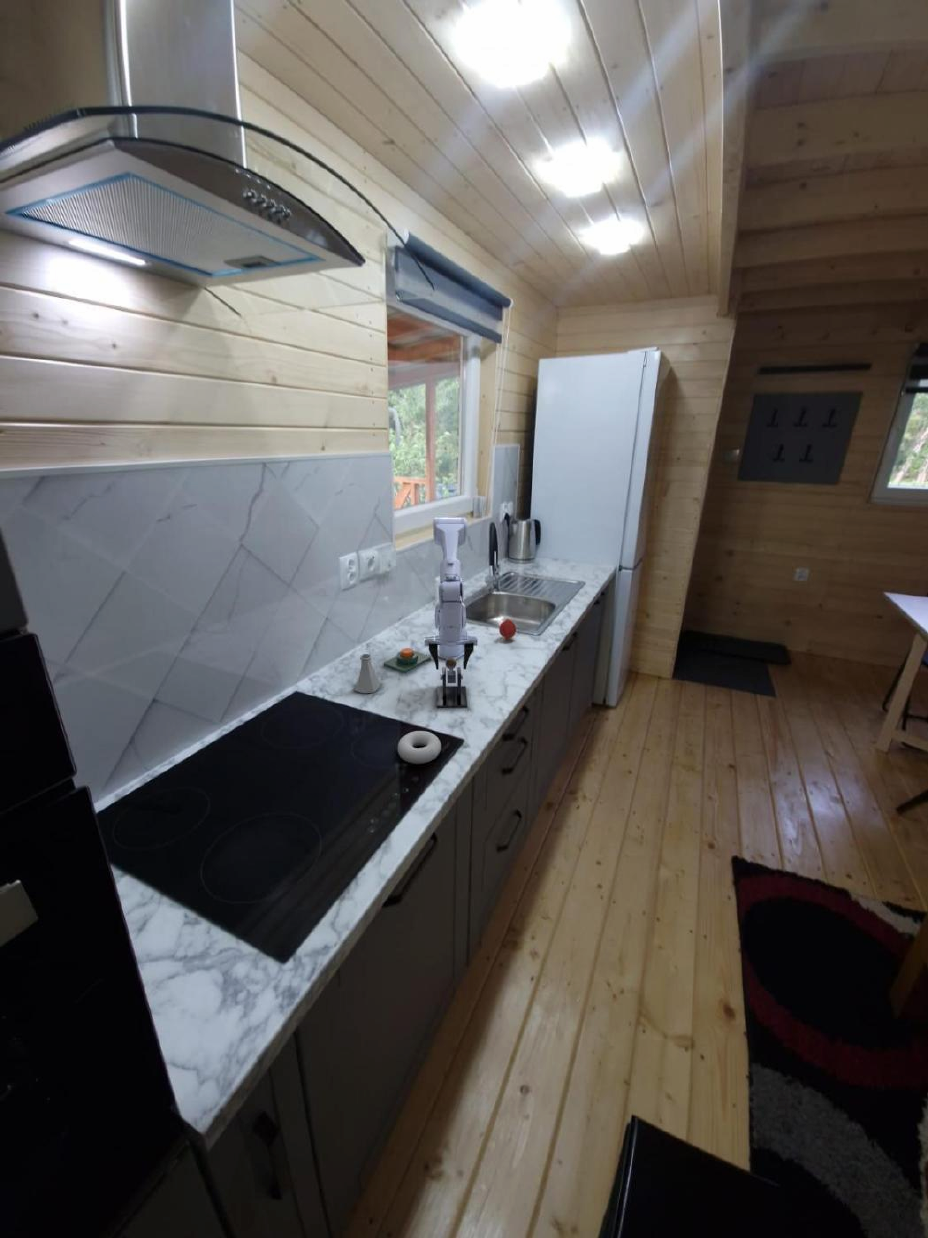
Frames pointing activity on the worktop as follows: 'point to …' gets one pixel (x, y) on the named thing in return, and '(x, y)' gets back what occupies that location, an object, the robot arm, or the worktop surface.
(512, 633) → the onion
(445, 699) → the bracket
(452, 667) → the lever
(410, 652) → the button
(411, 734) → the donut
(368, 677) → the flask
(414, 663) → the control block
